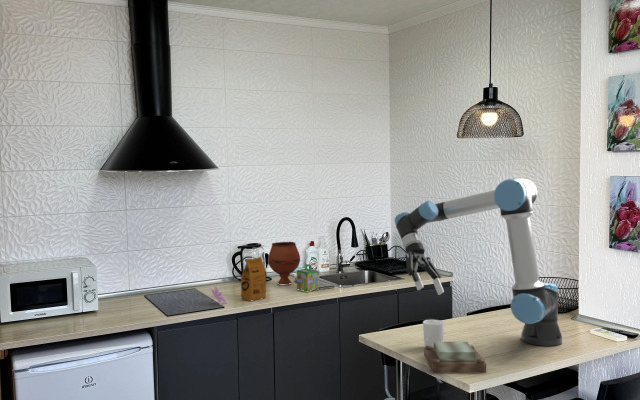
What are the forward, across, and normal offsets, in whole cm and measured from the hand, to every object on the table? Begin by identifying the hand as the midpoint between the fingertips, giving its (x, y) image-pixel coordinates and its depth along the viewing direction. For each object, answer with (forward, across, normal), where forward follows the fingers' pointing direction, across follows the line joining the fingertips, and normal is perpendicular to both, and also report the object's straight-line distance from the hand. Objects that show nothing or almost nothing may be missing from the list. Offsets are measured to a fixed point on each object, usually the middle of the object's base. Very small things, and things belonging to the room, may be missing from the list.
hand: (431, 291), depth 231 cm
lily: (-47, +23, -107) cm, 119 cm away
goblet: (-70, -33, -112) cm, 136 cm away
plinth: (+33, +11, +4) cm, 35 cm away
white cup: (+21, +2, -7) cm, 23 cm away
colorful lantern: (-56, -31, -94) cm, 113 cm away
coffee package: (-50, +2, -102) cm, 114 cm away
